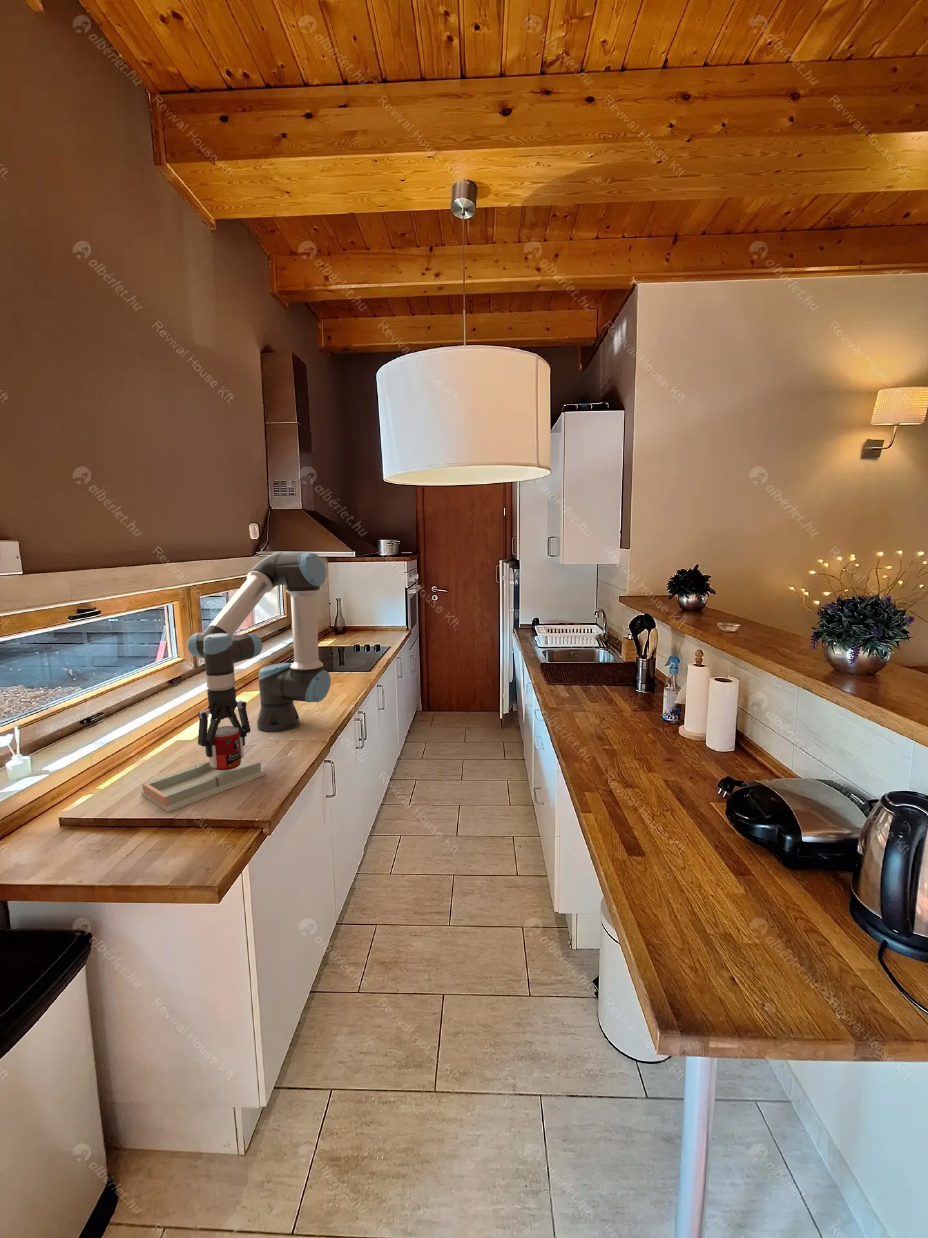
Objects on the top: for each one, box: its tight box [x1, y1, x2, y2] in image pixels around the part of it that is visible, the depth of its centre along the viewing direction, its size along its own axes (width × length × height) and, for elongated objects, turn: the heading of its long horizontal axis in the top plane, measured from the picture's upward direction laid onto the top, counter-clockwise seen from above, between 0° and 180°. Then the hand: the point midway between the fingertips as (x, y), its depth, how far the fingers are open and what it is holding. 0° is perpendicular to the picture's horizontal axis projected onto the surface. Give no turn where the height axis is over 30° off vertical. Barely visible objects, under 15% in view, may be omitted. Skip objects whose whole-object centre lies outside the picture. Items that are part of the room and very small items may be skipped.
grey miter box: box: [140, 760, 266, 813], centre depth 158 cm, size 28×16×4 cm, turn 142°
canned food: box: [213, 725, 242, 770], centre depth 163 cm, size 8×8×11 cm
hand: (227, 761), depth 163 cm, fingers closed on canned food, 8 cm apart
